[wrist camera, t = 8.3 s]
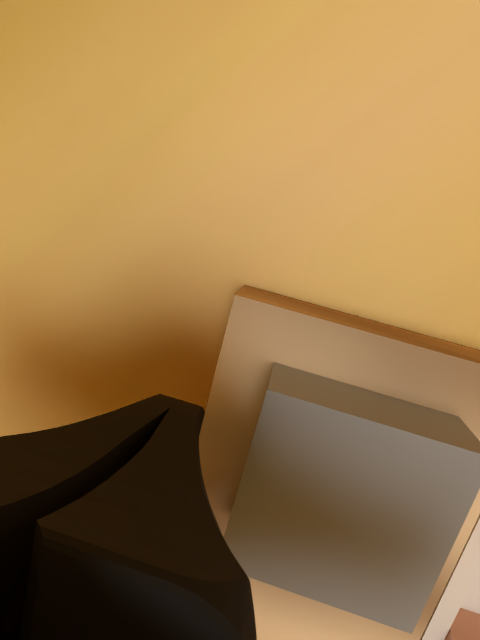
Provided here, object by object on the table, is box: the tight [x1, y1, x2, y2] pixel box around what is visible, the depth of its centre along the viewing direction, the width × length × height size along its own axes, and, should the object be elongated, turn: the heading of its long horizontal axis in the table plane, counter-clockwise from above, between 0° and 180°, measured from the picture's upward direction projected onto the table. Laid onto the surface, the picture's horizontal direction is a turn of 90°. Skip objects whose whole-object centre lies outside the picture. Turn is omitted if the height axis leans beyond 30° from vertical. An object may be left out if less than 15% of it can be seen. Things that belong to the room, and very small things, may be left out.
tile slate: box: [224, 362, 480, 634], centre depth 10 cm, size 5×5×2 cm
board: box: [199, 285, 480, 640], centre depth 13 cm, size 15×8×2 cm, turn 166°
